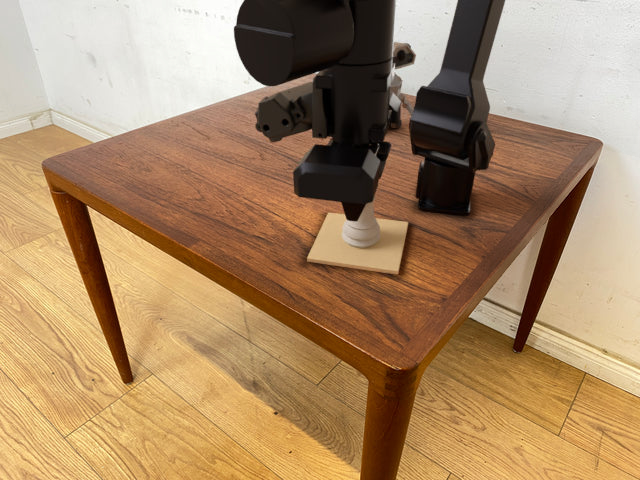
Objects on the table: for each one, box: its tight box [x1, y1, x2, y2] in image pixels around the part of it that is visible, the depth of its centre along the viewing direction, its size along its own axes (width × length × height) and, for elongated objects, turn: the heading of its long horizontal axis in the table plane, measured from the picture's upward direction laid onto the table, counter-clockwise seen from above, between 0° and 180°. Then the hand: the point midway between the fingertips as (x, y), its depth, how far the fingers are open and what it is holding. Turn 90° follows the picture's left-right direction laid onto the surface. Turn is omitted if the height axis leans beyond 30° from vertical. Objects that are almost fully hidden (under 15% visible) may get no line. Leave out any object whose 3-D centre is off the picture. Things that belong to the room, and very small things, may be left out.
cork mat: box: [306, 212, 409, 275], centre depth 56 cm, size 10×10×1 cm
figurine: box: [390, 41, 417, 129], centre depth 80 cm, size 9×12×15 cm
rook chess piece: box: [342, 186, 380, 248], centre depth 54 cm, size 4×4×8 cm
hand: (352, 219), depth 48 cm, fingers closed
